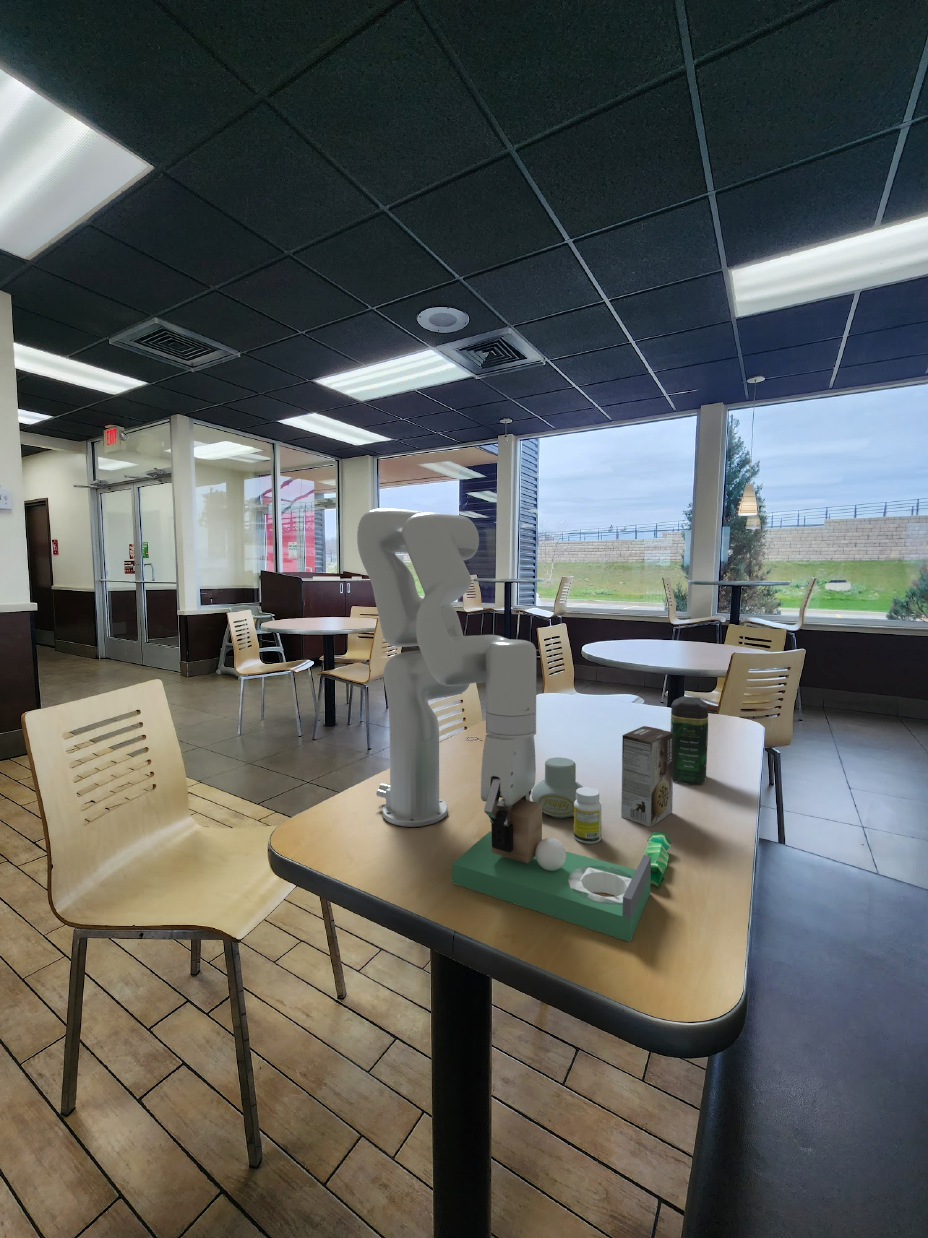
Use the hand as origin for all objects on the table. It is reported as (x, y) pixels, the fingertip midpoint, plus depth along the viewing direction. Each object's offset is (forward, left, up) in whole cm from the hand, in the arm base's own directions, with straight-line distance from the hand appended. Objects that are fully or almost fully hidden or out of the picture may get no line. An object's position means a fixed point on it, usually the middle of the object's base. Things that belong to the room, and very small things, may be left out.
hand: (511, 840), depth 80 cm
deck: (+6, 0, -6) cm, 8 cm away
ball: (+6, 0, -1) cm, 6 cm away
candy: (+18, +14, -6) cm, 24 cm away
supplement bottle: (+6, +18, -6) cm, 20 cm away
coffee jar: (+17, +58, -6) cm, 61 cm away
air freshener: (-2, +26, -6) cm, 27 cm away
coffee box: (+13, +33, -6) cm, 36 cm away
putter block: (+1, 0, -1) cm, 2 cm away
